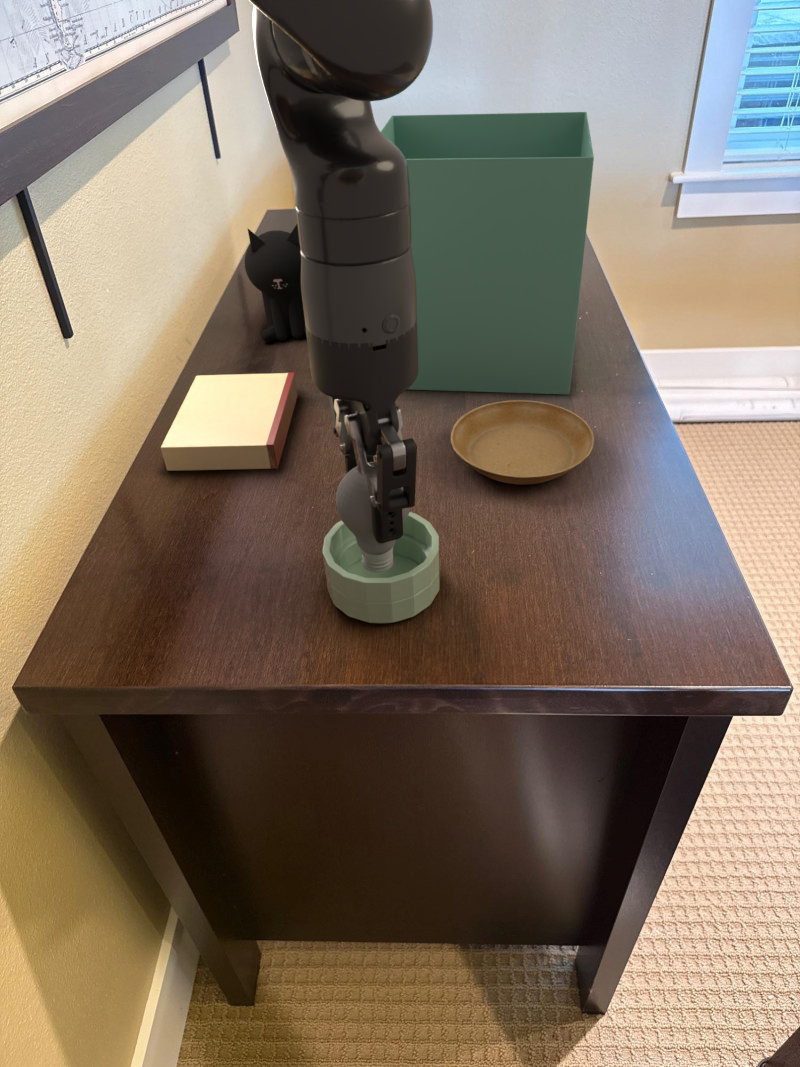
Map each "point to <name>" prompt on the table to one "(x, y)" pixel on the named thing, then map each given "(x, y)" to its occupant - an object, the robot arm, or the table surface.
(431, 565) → the bowl
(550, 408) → the plant saucer
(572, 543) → the table surface
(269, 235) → the figurine
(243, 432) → the book
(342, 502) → the light bulb
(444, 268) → the box
